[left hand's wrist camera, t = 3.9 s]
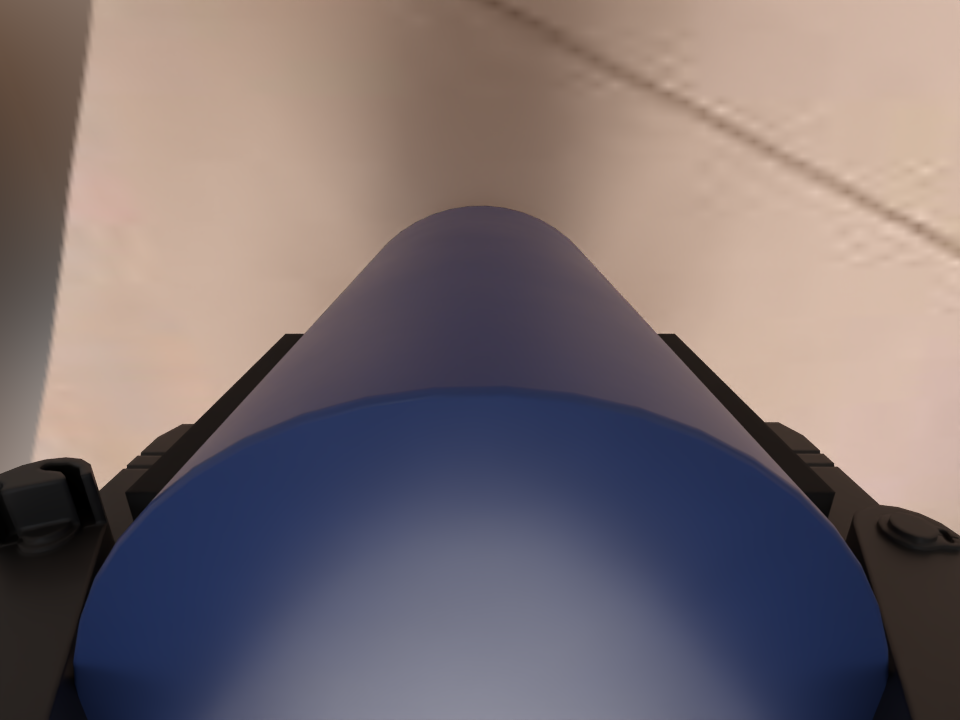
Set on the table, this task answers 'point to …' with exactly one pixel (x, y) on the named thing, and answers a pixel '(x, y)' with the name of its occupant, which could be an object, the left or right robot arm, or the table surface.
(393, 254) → the canister
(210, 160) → the table surface
